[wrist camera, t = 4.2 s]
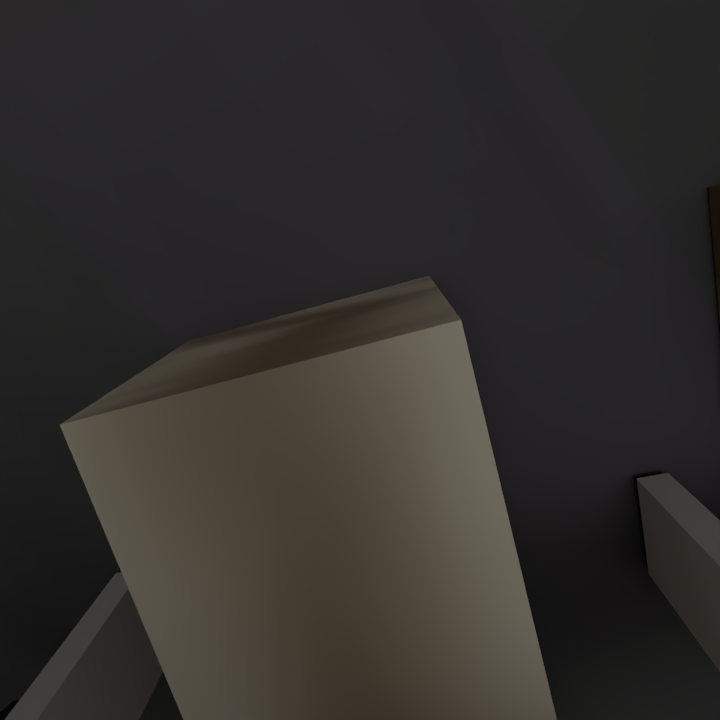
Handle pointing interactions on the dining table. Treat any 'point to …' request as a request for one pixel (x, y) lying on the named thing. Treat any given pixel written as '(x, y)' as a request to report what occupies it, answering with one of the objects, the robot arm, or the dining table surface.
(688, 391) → the dining table surface
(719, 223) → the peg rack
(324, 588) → the beige wooden block
